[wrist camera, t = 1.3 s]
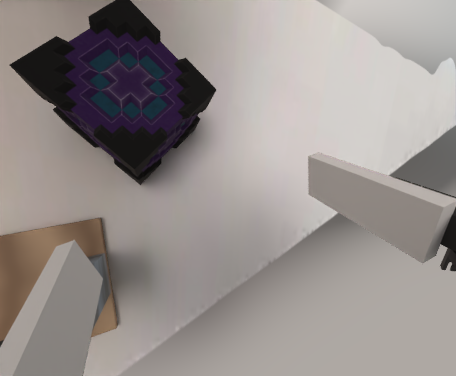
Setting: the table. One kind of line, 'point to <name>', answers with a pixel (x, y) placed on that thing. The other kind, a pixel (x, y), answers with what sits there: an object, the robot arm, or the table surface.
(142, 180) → the energy cube
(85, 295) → the robot arm
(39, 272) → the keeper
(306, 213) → the table surface
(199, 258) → the table surface
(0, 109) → the table surface
